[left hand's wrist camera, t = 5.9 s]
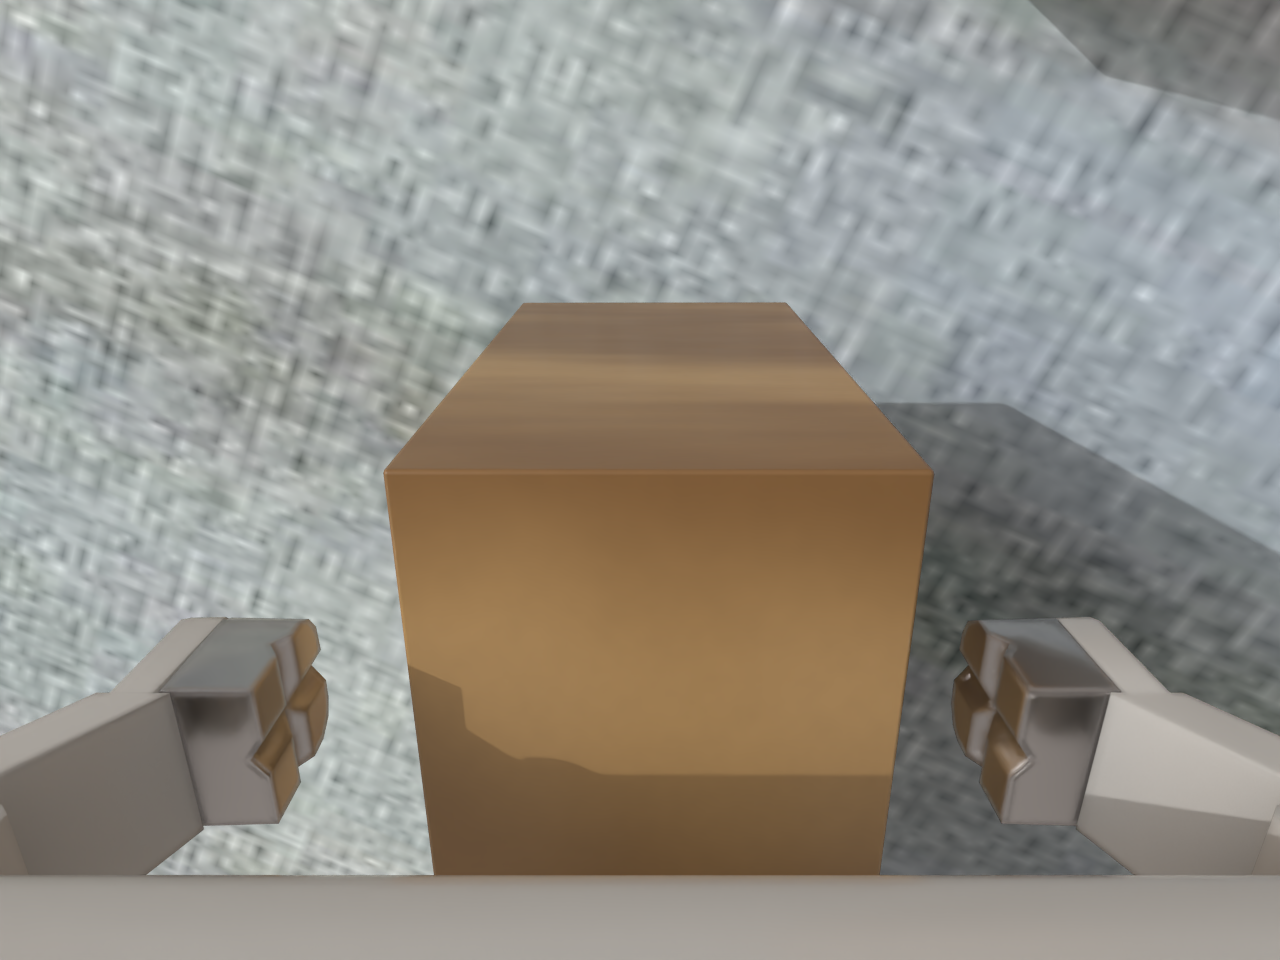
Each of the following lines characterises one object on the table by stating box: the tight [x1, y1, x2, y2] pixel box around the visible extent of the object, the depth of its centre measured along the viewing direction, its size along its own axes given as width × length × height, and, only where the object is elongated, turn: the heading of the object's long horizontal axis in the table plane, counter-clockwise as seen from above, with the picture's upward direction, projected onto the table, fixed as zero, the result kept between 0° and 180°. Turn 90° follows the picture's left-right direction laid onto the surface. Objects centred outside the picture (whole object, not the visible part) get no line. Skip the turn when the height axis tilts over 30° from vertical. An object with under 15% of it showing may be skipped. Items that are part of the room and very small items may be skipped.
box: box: [384, 303, 934, 875], centre depth 19 cm, size 25×6×11 cm, turn 0°
